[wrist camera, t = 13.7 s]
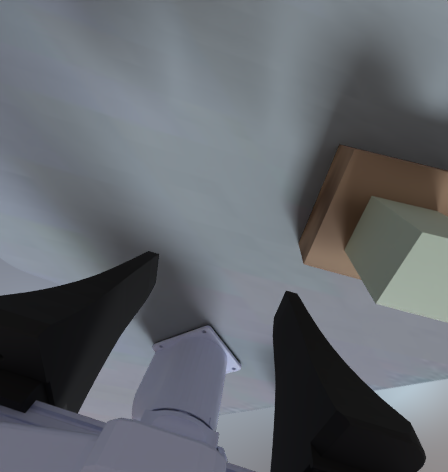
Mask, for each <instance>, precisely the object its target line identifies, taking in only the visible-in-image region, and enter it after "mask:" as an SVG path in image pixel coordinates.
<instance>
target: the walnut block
mask: <svg viewBox="0 0 448 472" xmlns="http://www.w3.org/2000/svg"><path fill="white" fill-rule="evenodd" d="M371 196H375V197H379V198H383V199H388V200H392V201H396V202H400V203H404V204H409V205H413V206H417V207H421V208H425V209H430V210H434V211H438V212H440V213H442V214H444V215H445V216H447V217H448V171H447V170H443V169H438V168H434V167H430V166H426V165H422V164H418V163H414V162H410V161H406V160H401V159H397V158H393V157H389V156H385V155H381V154H377V153H373V152H369V151H365V150H360V149H356V148H352V147H348V146H344V145H340V144H339V147H338V149H337V152H336V154H335V156H334V159H333V161H332V164H331V166H330V169H329V171H328V173H327V176H326V178H325V181H324V183H323V185H322V188H321V190H320V193H319V195H318V198H317V200H316V202H315V205H314V207H313V210H312V212H311V214H310V217H309V219H308V222H307V224H306V227H305V229H304V231H303V234H302V236H301V239H300V241H299V247H300V251H301V255H302V259H303V263H304V264H305V265H309V266H313V267H316V268H320V269H324V270H327V271H331V272H335V273H338V274H342V275H346V276H349V277H353V278H357V279H360V280H361V278H360V276H359V275H358V273H357V271H356V269H355V268H354V266H353V264H352V263H351V261H350V259H349V258H348V256H347V254H346V252H345V251H344V250H345V248H346V246H347V244H348V242H349V240H350V238H351V236H352V234H353V232H354V230H355V228H356V226H357V224H358V222H359V220H360V218H361V216H362V214H363V212H364V210H365V208H366V206H367V204H368V202H369V200H370V198H371Z"/></svg>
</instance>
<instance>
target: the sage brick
mask: <svg viewBox="0 0 448 472" xmlns="http://www.w3.org/2000/svg"><path fill="white" fill-rule="evenodd" d="M344 251H345V252H346V254H347V256H348V258H349V259H350V261H351V263H352V264H353V266H354V268H355V269H356V271H357V273H358V275H359V276H360V278H361V280H362V281H363V283H364V285H365V286H366V288H367V290H368V291H369V293H370V295H371V297H372V298H373V300H374V302H375V303H376V304H379V305H382V306H386V307H390V308H394V309H398V310H401V311H405V312H409V313H413V314H417V315H420V316H424V317H428V318H432V319H435V320H439V321H443V322H447V323H448V217H447V216H445V215H444V214H442V213H440V212H438V211H434V210H430V209H425V208H421V207H417V206H413V205H409V204H404V203H400V202H396V201H392V200H388V199H383V198H379V197H375V196H371V198H370V200H369V202H368V204H367V206H366V208H365V210H364V212H363V214H362V216H361V218H360V220H359V222H358V224H357V226H356V228H355V230H354V232H353V234H352V236H351V238H350V240H349V242H348V244H347V246H346V248H345V250H344Z"/></svg>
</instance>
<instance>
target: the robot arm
mask: <svg viewBox="0 0 448 472" xmlns="http://www.w3.org/2000/svg"><path fill="white" fill-rule="evenodd" d="M158 259H159V254H157V253H153V252H150V251H148V252H146V253H144V254H142V255H140V256H138V257H136V258H134V259H132V260H129V261H127V262H125V263H123V264H121V265H119V266H117V267H114V268H112V269H110V270H107V271H105V272H103V273H100V274H97V275H95V276H92V277H89V278H86V279H83V280H80V281H76V282H72V283H68V284H65V285H61V286H57V287H52V288H48V289H43V290H38V291H32V292H26V293H18V294H10V295H3V296H0V472H255V471H252V470H249V469H246V468H243V467H240V466H237V465H234V464H231V463H228V459H227V457H226V454H225V451H224V449H223V448H222V447H219V446H217V444H218V438H219V433H218V432H216V429H217V423H218V417H219V411H220V405H221V399H222V393H223V387H224V381H225V375H226V373H230V372H234V371H238V370H240V369H241V364H240V363H239V362H238V361H237V359H236V358H235V357H234V355H233V354H232V353H231V352H230V350H229V349H228V348H227V347H226V345H225V344H224V343H223V341H222V340H221V339H220V338H219V336H218V335H217V334H216V333H215V331H214V330H213V329H212V327H210V326H208V325H207V326H203V327H201V328H198V329H195V330H192V331H189V332H186V333H184V334H181V335H178V336H175V337H172V338H170V339H167V340H164V341H161V342H158V343H155V344H153V346H152V349H153V350H154V351H155V352H156V353H155V355H154V357H153V359H152V361H151V363H150V365H149V367H148V369H147V371H146V373H145V375H144V377H143V379H142V382H141V384H140V386H139V388H138V390H137V392H136V394H135V397H134V401H133V406H132V419H133V420H131V419H126V418H118V419H113V420H110V421H108V422H107V423H105V422H102V421H99V420H95V419H92V418H89V417H86V416H83V415H80V414H78V412H79V410H80V408H81V406H82V404H83V402H84V400H85V398H86V396H87V394H88V392H89V391H90V389H91V387H92V385H93V383H94V381H95V379H96V378H97V376H98V374H99V372H100V370H101V368H102V367H103V365H104V363H105V361H106V359H107V358H108V356H109V354H110V352H111V351H112V349H113V347H114V346H115V344H116V342H117V341H118V339H119V337H120V336H121V334H122V333H123V331H124V330H125V328H126V327H127V326H128V324H129V323H130V322H131V320H132V319H133V317H134V316H135V315H136V313H137V312H138V311H139V309H140V308H141V306H142V305H143V304H144V302H145V301H146V299H147V298H148V296H149V294H150V293H151V291H152V289H153V287H154V285H155V283H156V276H157V267H158ZM204 330H205V331H204ZM273 347H274V362H275V380H276V390H275V415H274V432H273V448H272V460H271V472H417V471H418V470H419V469H421V467H423V465H424V463H425V460H426V456H425V452H424V450H423V448H422V446H421V444H420V442H419V439H418V437H417V435H416V433H415V431H414V429H413V427H412V425H411V423H410V422H409V421H407V420H406V419H405V418H404V417H403V416H402V415H400V414H399V413H398V412H397V411H396V410H394V409H393V408H392V407H391V406H390V405H388V404H387V403H386V402H385V401H384V400H383V399H381V398H380V397H379V396H378V395H377V394H376V393H375V392H374V391H373V390H372V389H371V388H370V387H369V386H368V385H367V384H365V383H364V382H363V381H362V380H361V379H360V378H359V377H358V375H357V374H356V373H355V372H354V371H353V370H352V369H351V368H350V367H349V366H348V365H347V364H346V363H345V362H344V360H343V359H342V358H341V357H340V356H339V355H338V353H337V352H336V351H335V350H334V349H333V347H332V346H331V345H330V343H329V342H328V341H327V339H326V338H325V337H324V335H323V334H322V332H321V331H320V330H319V328H318V327H317V325H316V324H315V322H314V321H313V319H312V317H311V316H310V314H309V313H308V311H307V309H306V308H305V306H304V304H303V303H302V301H301V299H300V297H299V296H298V294H296V293H293V292H289V291H286V292H285V294H284V296H283V299H282V301H281V303H280V305H279V307H278V310H277V312H276V314H275V316H274V324H273Z"/></svg>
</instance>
